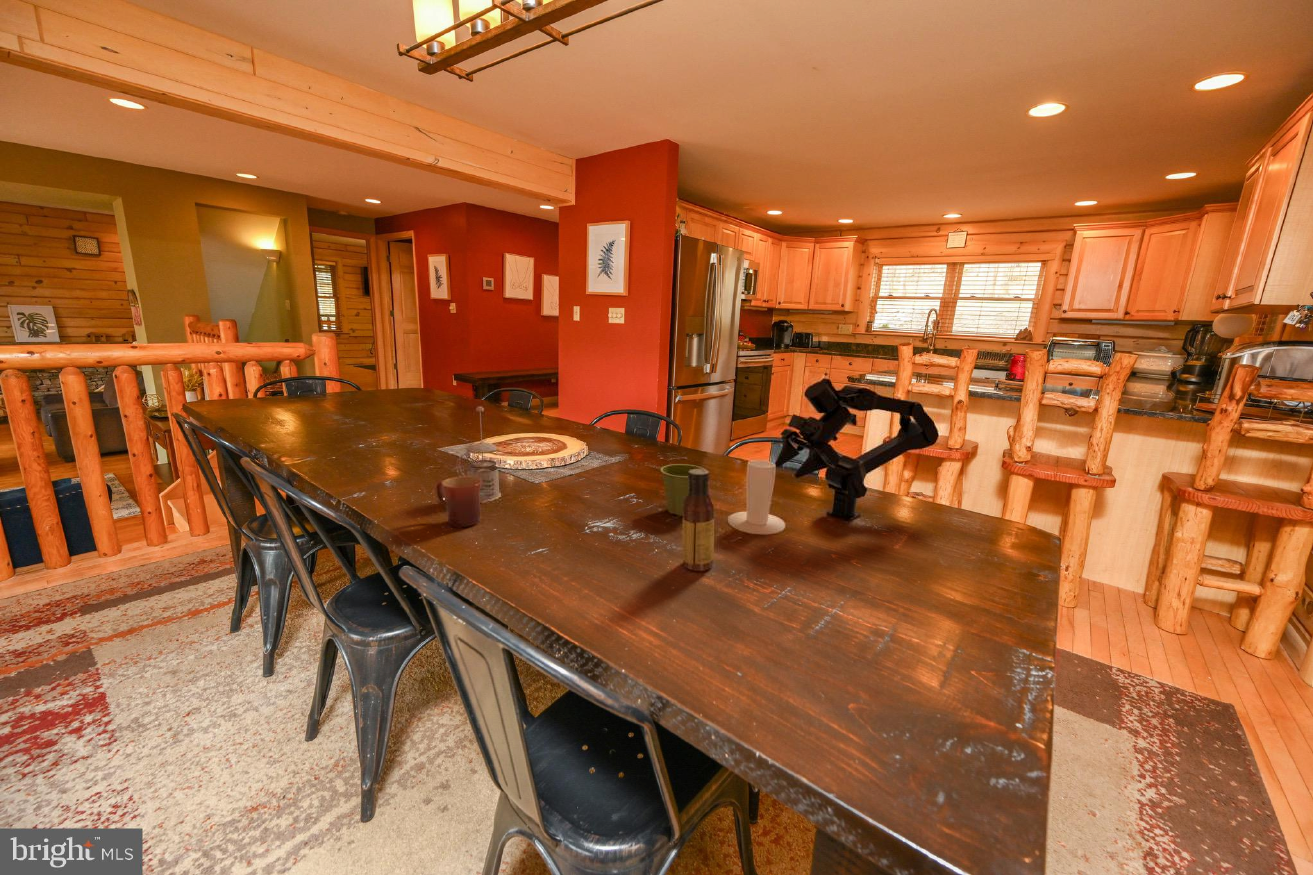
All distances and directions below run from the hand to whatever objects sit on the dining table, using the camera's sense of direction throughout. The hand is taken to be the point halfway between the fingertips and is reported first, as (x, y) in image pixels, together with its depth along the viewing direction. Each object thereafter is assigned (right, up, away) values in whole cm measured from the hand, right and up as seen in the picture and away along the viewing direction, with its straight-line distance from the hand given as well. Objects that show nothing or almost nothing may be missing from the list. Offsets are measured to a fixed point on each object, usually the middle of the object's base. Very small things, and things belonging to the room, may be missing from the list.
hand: (785, 471), depth 123 cm
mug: (-79, -12, -4) cm, 80 cm away
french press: (-79, -8, +13) cm, 81 cm away
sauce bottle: (-24, -18, -22) cm, 37 cm away
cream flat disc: (-7, -13, +1) cm, 15 cm away
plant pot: (-25, -11, +7) cm, 28 cm away
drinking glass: (-7, -13, +1) cm, 15 cm away
